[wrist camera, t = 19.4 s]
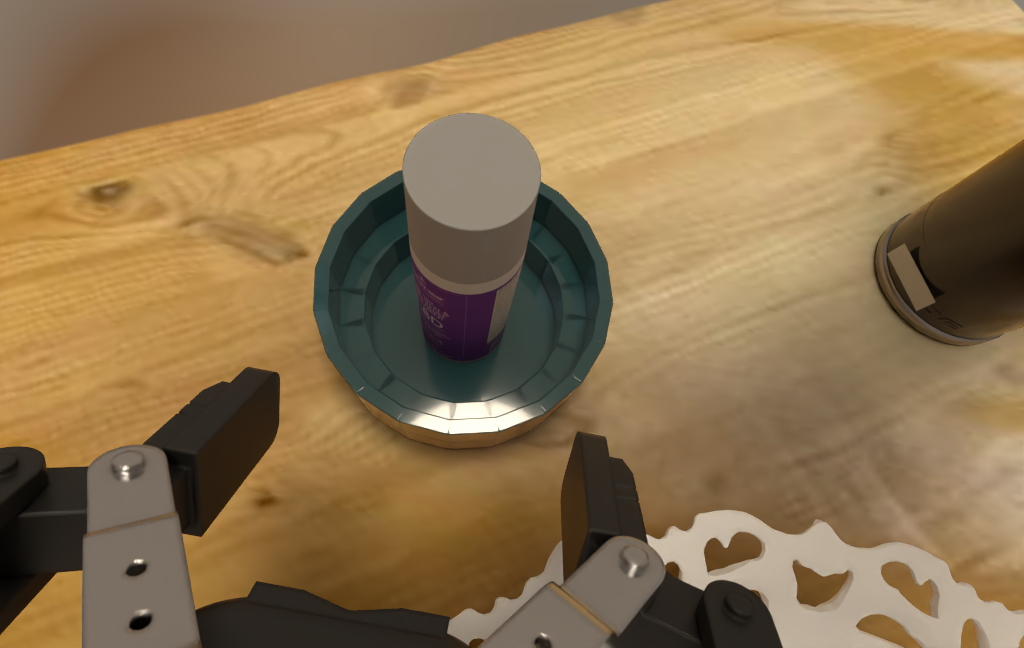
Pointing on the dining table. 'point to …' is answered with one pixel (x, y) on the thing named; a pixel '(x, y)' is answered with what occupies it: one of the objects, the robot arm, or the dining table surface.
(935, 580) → the bowl
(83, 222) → the dining table surface
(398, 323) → the bowl
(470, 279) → the container
